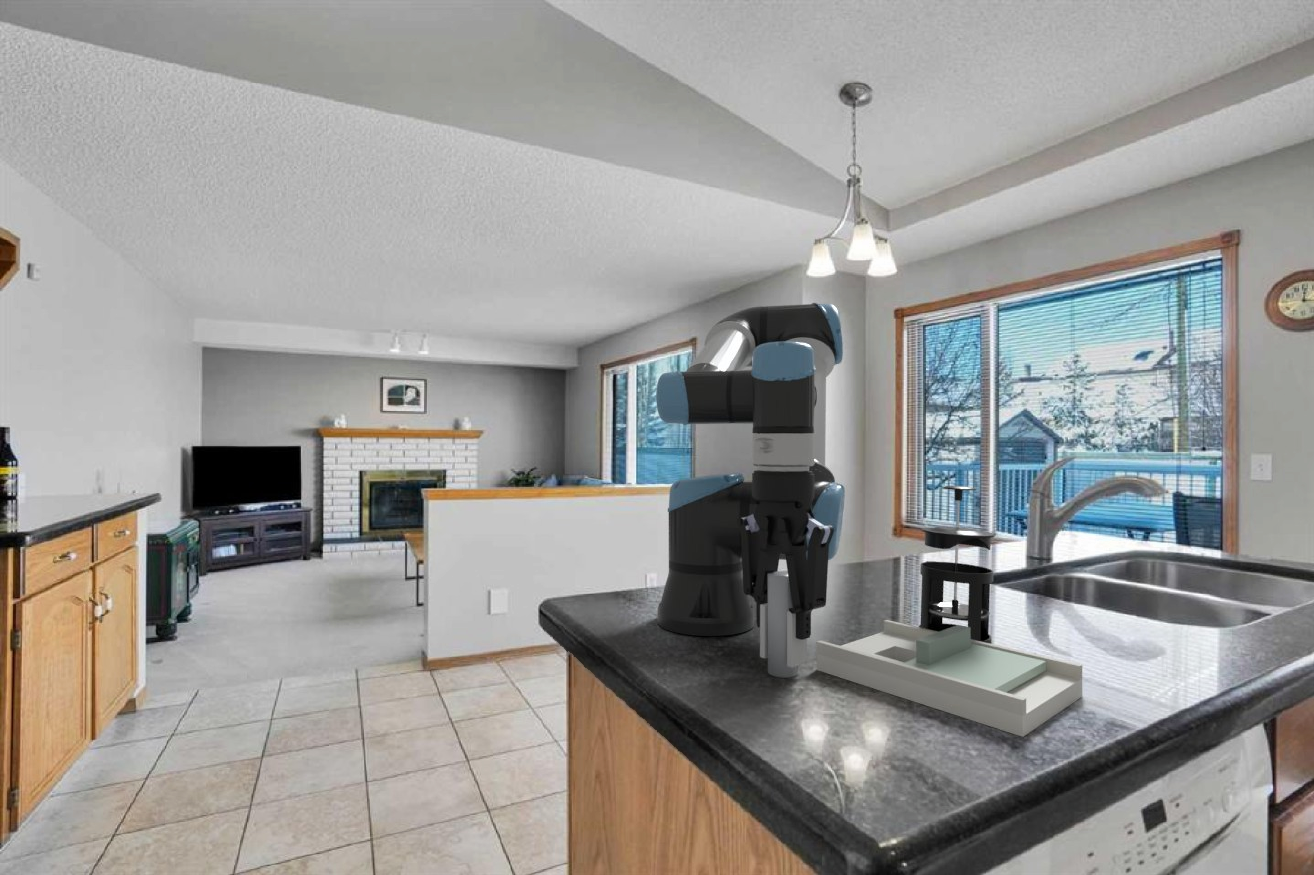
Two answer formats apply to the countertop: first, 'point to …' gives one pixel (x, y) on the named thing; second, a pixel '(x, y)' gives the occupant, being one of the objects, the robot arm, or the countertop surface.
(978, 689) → the housing
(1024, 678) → the lid
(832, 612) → the countertop surface
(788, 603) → the pin
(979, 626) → the french press
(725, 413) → the robot arm
